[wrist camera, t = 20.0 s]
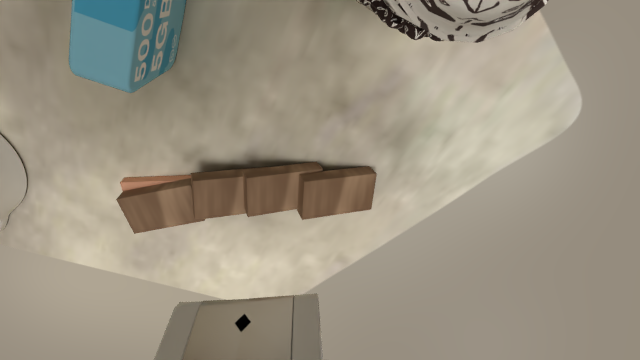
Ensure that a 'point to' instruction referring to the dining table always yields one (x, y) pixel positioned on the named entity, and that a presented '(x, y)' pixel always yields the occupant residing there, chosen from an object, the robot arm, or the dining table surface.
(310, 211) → the domino
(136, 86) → the data package
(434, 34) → the decorative candle
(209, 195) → the domino
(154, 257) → the dining table surface
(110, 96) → the dining table surface
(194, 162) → the dining table surface
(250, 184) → the domino
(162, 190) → the domino
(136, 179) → the domino
